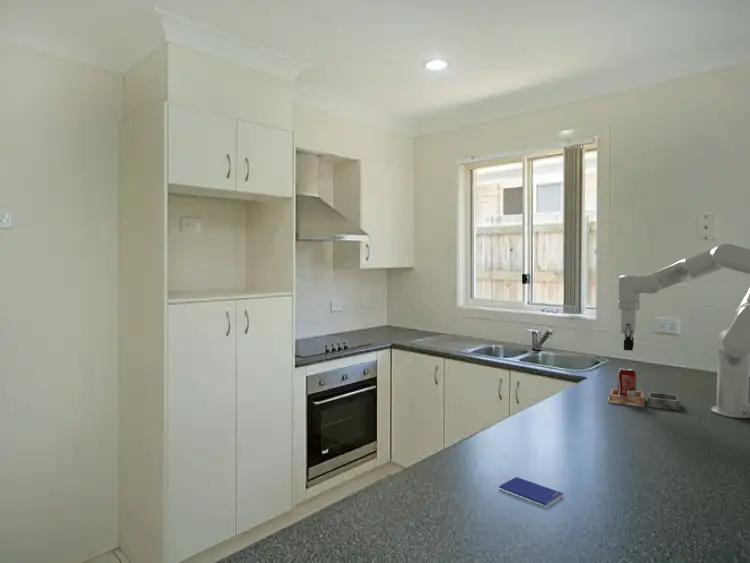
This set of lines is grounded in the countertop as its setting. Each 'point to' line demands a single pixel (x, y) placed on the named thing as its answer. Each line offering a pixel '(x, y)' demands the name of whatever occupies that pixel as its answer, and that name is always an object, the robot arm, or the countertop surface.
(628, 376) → the soda can
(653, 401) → the dock
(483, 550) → the countertop surface
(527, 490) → the hard drive
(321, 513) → the countertop surface
